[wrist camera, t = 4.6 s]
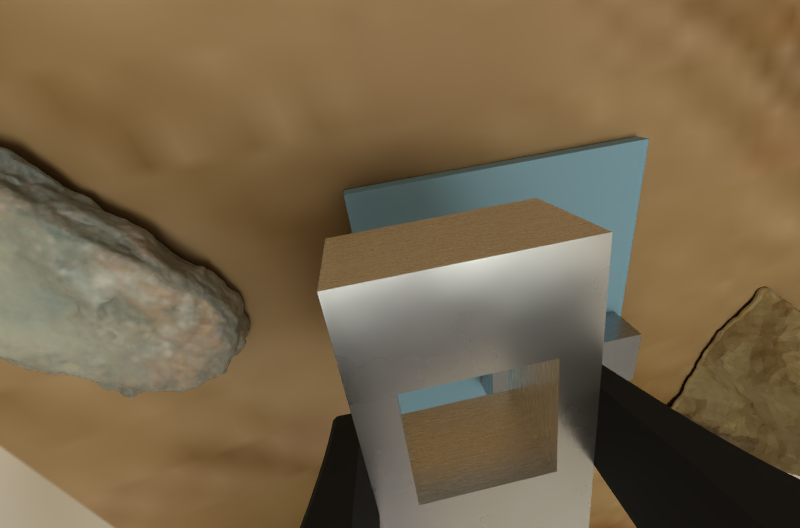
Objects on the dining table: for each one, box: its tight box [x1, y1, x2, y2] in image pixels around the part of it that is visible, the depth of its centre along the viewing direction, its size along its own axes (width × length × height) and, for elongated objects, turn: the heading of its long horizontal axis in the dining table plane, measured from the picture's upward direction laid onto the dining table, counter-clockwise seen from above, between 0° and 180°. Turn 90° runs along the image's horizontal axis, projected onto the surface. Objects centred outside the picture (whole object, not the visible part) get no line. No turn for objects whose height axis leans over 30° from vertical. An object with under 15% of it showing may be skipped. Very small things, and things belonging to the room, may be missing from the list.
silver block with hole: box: [317, 198, 612, 528], centre depth 10 cm, size 6×9×3 cm, turn 8°
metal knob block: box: [480, 311, 641, 395], centre depth 20 cm, size 3×8×5 cm, turn 99°
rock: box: [670, 287, 800, 476], centre depth 23 cm, size 11×9×10 cm
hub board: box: [344, 136, 649, 414], centre depth 20 cm, size 16×14×1 cm
